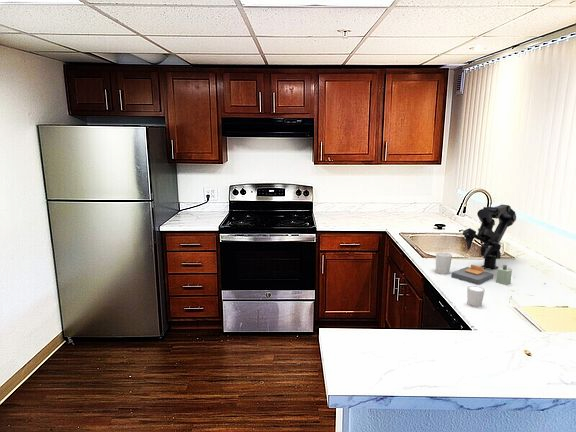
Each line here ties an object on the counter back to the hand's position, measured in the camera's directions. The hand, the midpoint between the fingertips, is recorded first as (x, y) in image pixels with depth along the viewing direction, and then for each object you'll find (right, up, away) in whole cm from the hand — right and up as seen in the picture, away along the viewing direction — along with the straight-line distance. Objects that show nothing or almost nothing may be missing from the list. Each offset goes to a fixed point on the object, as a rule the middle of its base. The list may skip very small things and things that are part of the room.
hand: (476, 254), depth 206 cm
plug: (+10, -14, -7) cm, 18 cm away
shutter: (-1, -9, +1) cm, 9 cm away
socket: (-2, -12, 0) cm, 12 cm away
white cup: (-14, -11, +9) cm, 20 cm away
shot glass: (-16, -19, -32) cm, 40 cm away
